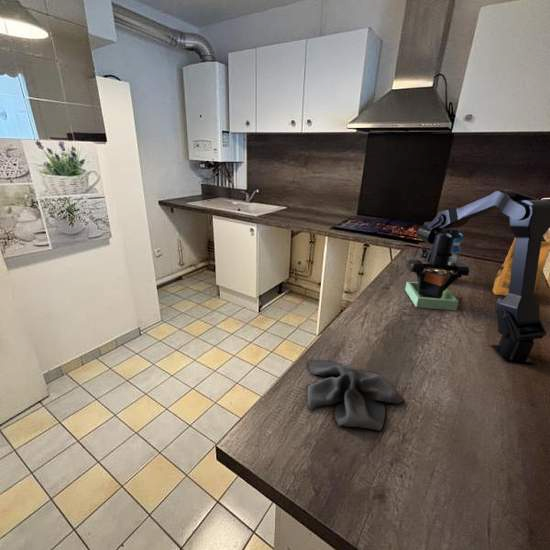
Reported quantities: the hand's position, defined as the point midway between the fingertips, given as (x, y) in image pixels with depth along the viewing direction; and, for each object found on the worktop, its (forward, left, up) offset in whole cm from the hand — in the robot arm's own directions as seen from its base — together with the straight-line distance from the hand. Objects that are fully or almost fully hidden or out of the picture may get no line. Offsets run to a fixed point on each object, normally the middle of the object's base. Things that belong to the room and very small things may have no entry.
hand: (431, 289), depth 104 cm
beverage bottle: (+21, -12, -4) cm, 25 cm away
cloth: (-50, +34, -4) cm, 61 cm away
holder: (0, 0, -4) cm, 4 cm away
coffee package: (+10, -33, -4) cm, 35 cm away
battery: (0, 0, -3) cm, 3 cm away
